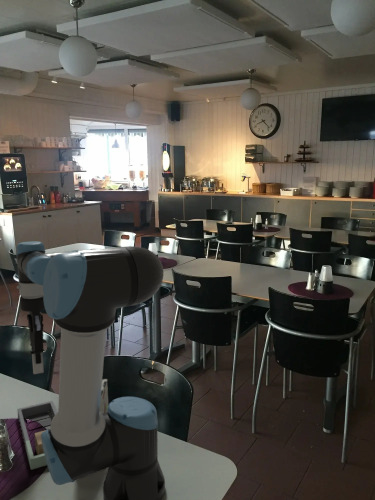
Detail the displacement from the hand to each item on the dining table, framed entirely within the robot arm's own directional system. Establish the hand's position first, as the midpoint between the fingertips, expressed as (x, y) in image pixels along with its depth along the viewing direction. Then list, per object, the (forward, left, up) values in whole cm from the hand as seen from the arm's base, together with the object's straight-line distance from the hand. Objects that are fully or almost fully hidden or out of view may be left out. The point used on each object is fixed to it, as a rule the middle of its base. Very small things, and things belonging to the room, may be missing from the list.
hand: (38, 372), depth 126 cm
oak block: (-11, 0, -20) cm, 22 cm away
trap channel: (-2, 0, -19) cm, 19 cm away
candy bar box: (-11, -14, -20) cm, 27 cm away
